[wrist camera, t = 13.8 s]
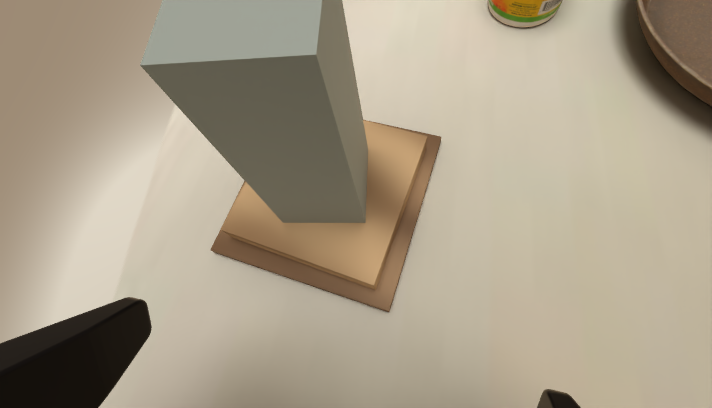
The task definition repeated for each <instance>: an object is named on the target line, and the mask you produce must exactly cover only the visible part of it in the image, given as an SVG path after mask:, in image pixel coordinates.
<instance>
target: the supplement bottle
mask: <svg viewBox="0 0 712 408" xmlns="http://www.w3.org/2000/svg"><path fill="white" fill-rule="evenodd" d="M561 2H562V0H488V6H489V9H490V12H491V13H492V15H493V16H494V17H495V18H496V19H498V20H499V21H500V22H502V23H504V24H506V25H510V26H514V27H532V26H536V25H539V24H542V23H544V22H546V21H548V20H549V19H550V18H551V17H553V16H554V14H555V13H556V12H557V10H558V8H559V6H560V4H561Z"/></svg>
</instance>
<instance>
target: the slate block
mask: <svg viewBox="0 0 712 408" xmlns="http://www.w3.org/2000/svg"><path fill="white" fill-rule="evenodd" d="M141 67H142V68H143V69H144V70H145V71H146V72H147V73H148V74H149V76H150V77H151V78H152V79H153V80H154V81H155V82H156V83H157V84H158V85H159V87H161V89H162V90H163V91H164V92H165V93H166V94H167V95H168V96H169V97H170V99H171V100H172V101H173V102H174V103H175V104H176V105H177V106H178V107H179V109H180V110H181V111H182V112H183V113H184V114H185V115H186V116H187V117H188V119H189V120H190V121H191V122H192V123H193V124H194V125H195V126H196V127H197V128H198V130H199V131H200V132H201V133H202V134H203V135H204V136H205V137H206V138H207V139H208V141H209V142H210V143H211V144H212V145H213V146H214V147H215V148H216V149H217V150H218V152H219V153H220V154H221V155H222V156H223V157H224V158H225V159H226V160H227V161H228V163H229V164H230V165H231V166H232V167H233V168H234V169H235V170H236V171H237V173H238V174H239V175H240V176H241V177H242V178H243V179H244V180H245V181H246V182H247V184H248V185H249V186H250V187H251V188H252V189H253V190H254V191H255V192H256V193H257V195H258V196H259V197H260V198H261V199H262V200H263V201H264V202H265V203H266V204H267V206H268V207H269V208H270V209H271V210H272V211H273V212H274V213H275V214H276V215H277V217H278V218H279V219H280V220H281V221H282V222H283V223H366V195H367V167H368V145H367V140H366V134H365V128H364V123H363V117H362V111H361V106H360V100H359V94H358V88H357V83H356V77H355V71H354V66H353V60H352V54H351V49H350V43H349V37H348V32H347V26H346V20H345V15H344V9H343V3H342V0H163V1H162V4H161V7H160V10H159V13H158V15H157V18H156V21H155V24H154V27H153V30H152V33H151V36H150V39H149V42H148V44H147V47H146V50H145V53H144V56H143V59H142V62H141Z"/></svg>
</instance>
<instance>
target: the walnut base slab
mask: <svg viewBox="0 0 712 408" xmlns="http://www.w3.org/2000/svg"><path fill="white" fill-rule="evenodd" d="M365 121H366V120H365ZM369 122H371V121H369ZM373 123H375V122H373ZM377 124H380V123H377ZM381 125H385V124H381ZM385 126H389V125H385ZM389 127H393V128H397V129H401V130H405V131H409V132H413V133H417V134H421V135H425V136H427V145H426V150H425V153H424V156H423V159H422V161H421V164H420V167H419V170H418V173H417V175H416V178H415V181H414V184H413V187H412V189H411V192H410V195H409V198H408V201H407V204H406V206H405V209H404V212H403V215H402V218H401V220H400V223H399V226H398V229H397V232H396V234H395V237H394V240H393V243H392V246H391V248H390V251H389V254H388V257H387V260H386V263H385V265H384V268H383V271H382V274H381V277H380V279H379V282H378V285H377V288H376V290H374V289H371V288H368V287H366V286H363V285H360V284H358V283H355V282H352V281H349V280H347V279H344V278H341V277H338V276H336V275H333V274H330V273H328V272H325V271H322V270H319V269H317V268H314V267H311V266H308V265H306V264H303V263H300V262H298V261H295V260H292V259H289V258H287V257H284V256H281V255H278V254H276V253H273V252H270V251H268V250H265V249H262V248H259V247H257V246H254V245H251V244H248V243H246V242H243V241H240V240H238V239H235V238H232V237H230V236H229V235H227V234H226V233H225V232H223V231H222V230H220V232H219V234H218V236H217V238H216V240H215V242H214V244H213V246H212V248H211V251H213V252H215V253H218V254H221V255H223V256H226V257H229V258H232V259H235V260H238V261H241V262H244V263H247V264H250V265H253V266H256V267H258V268H261V269H264V270H267V271H270V272H273V273H276V274H279V275H282V276H285V277H288V278H291V279H293V280H296V281H299V282H302V283H305V284H308V285H311V286H314V287H317V288H320V289H323V290H326V291H328V292H331V293H334V294H337V295H340V296H343V297H346V298H349V299H352V300H355V301H358V302H361V303H363V304H366V305H369V306H372V307H375V308H378V309H381V310H384V311H387V312H389V311H390V308H391V304H392V301H393V298H394V294H395V291H396V288H397V284H398V281H399V278H400V274H401V271H402V268H403V265H404V261H405V258H406V255H407V251H408V248H409V245H410V241H411V238H412V235H413V232H414V228H415V225H416V222H417V218H418V215H419V212H420V208H421V205H422V202H423V198H424V195H425V192H426V189H427V185H428V182H429V179H430V175H431V172H432V169H433V165H434V162H435V159H436V156H437V152H438V149H439V146H440V142H441V137H440V136H435V135H430V134H426V133H421V132H417V131H412V130H408V129H403V128H398V127H394V126H389ZM245 183H246V181H244V183H243V185H242V187H241V189H240V191H239V193H238V195H237V197H236V199H235V201H236V200H237V198H238V196H239V194H240V192H241V190H242V188H243V186H244V185H245ZM235 201H234V203H235ZM234 203H233V205H234ZM232 207H233V206H232ZM231 209H232V208H231ZM230 211H231V210H230ZM229 213H230V212H229ZM228 215H229V214H228Z"/></svg>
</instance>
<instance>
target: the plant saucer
mask: <svg viewBox="0 0 712 408" xmlns="http://www.w3.org/2000/svg"><path fill="white" fill-rule="evenodd" d="M636 7H637V13H638V18H639V22H640V25H641V28H642V31H643V34H644V36H645V38H646V41H647V43H648V45H649V47H650V48H651V50H652V52H653V53H654V55H655V56H656V58H657V59H658V61H659V62H660V63H661V65H662V66H663V67H664V69H665V70H666V71H667V72H668V73H669V74H670V75H671V76H672V77H673V78H674V79H675V80H676V81H677V82H678V83H679V84H680V85H682V86H683V87H684V88H685V89H687V90H688V91H689V92H691V93H692V94H693V95H695V96H696V97H698V98H699V99H700V100H702V101H703V102H705V103H707V104H709V105H710V106H712V0H636Z"/></svg>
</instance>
